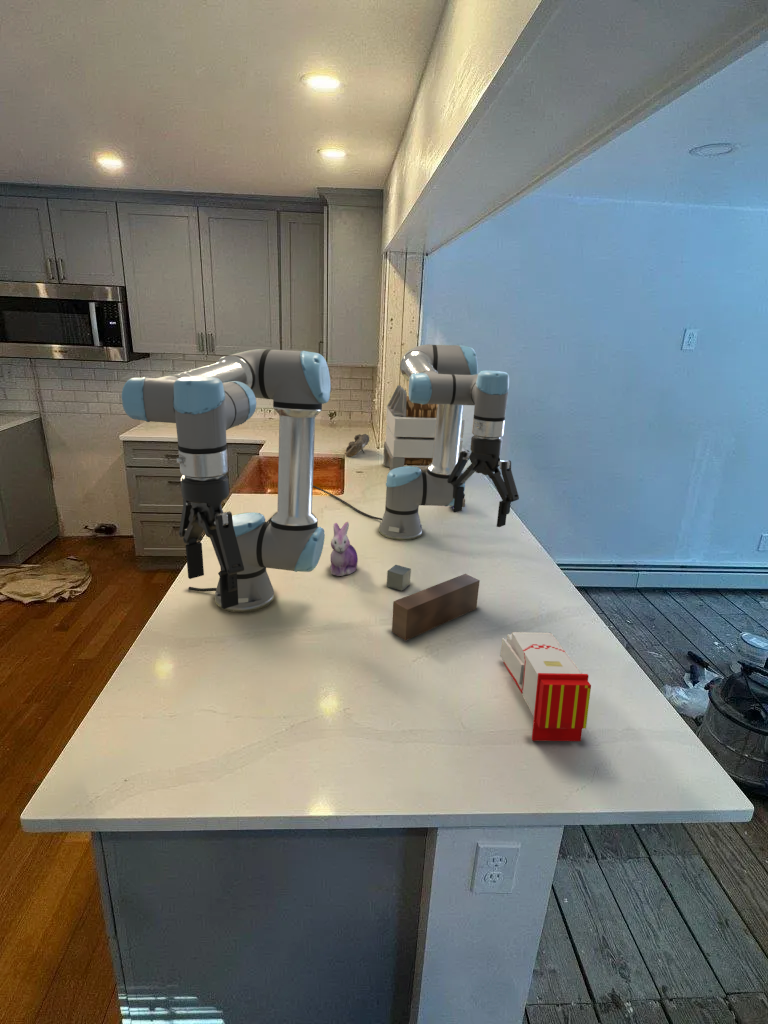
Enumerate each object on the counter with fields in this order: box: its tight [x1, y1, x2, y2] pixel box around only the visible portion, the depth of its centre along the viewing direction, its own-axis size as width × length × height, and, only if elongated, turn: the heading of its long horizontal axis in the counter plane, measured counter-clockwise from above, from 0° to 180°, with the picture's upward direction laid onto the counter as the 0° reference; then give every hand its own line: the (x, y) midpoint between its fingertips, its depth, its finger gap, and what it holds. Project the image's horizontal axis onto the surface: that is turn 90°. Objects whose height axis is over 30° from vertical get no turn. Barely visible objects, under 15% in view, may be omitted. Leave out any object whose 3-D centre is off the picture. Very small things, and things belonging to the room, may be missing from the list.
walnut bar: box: [391, 573, 481, 642], centre depth 144 cm, size 26×5×8 cm, turn 131°
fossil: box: [345, 433, 370, 458], centre depth 306 cm, size 22×10×15 cm
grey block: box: [386, 564, 412, 592], centre depth 162 cm, size 5×5×5 cm
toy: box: [499, 631, 592, 742], centre depth 117 cm, size 12×13×30 cm
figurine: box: [329, 521, 359, 577], centre depth 168 cm, size 9×10×15 cm
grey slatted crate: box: [383, 384, 465, 471], centre depth 268 cm, size 34×33×41 cm
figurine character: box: [449, 493, 466, 511], centre depth 229 cm, size 7×8×15 cm
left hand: (212, 590), depth 100 cm, fingers open, 13 cm apart
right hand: (478, 518), depth 145 cm, fingers open, 13 cm apart
